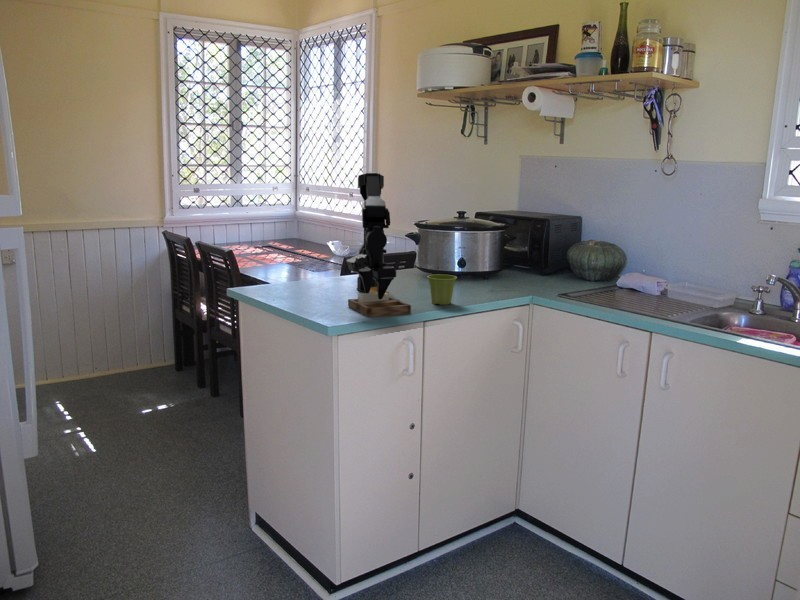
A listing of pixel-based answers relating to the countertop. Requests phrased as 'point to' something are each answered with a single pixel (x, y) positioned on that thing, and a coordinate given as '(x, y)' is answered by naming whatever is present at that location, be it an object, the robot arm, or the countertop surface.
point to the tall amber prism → (375, 290)
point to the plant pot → (441, 288)
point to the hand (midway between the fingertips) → (373, 296)
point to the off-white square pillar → (371, 297)
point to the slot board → (380, 307)
